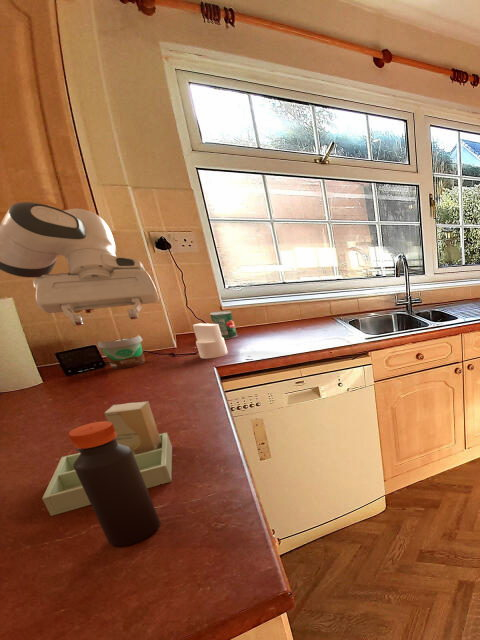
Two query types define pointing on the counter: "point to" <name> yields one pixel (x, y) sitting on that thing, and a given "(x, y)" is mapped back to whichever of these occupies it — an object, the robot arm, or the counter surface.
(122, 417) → the cosmetic box
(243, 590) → the counter surface
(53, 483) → the grid
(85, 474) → the bottle
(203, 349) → the base with upright slab
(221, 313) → the canned tomato
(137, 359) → the food container
